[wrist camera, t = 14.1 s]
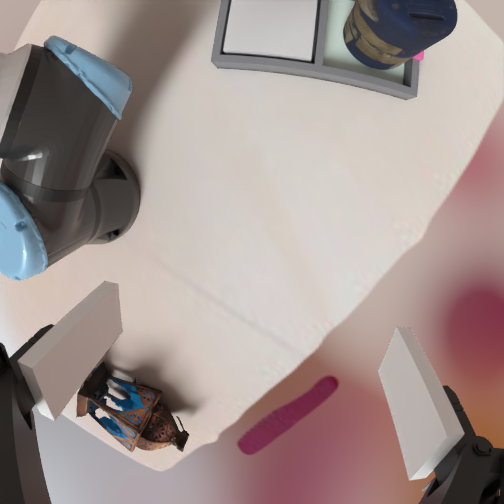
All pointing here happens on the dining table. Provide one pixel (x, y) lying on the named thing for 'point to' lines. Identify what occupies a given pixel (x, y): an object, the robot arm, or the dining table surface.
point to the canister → (396, 29)
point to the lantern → (130, 413)
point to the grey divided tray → (302, 44)
